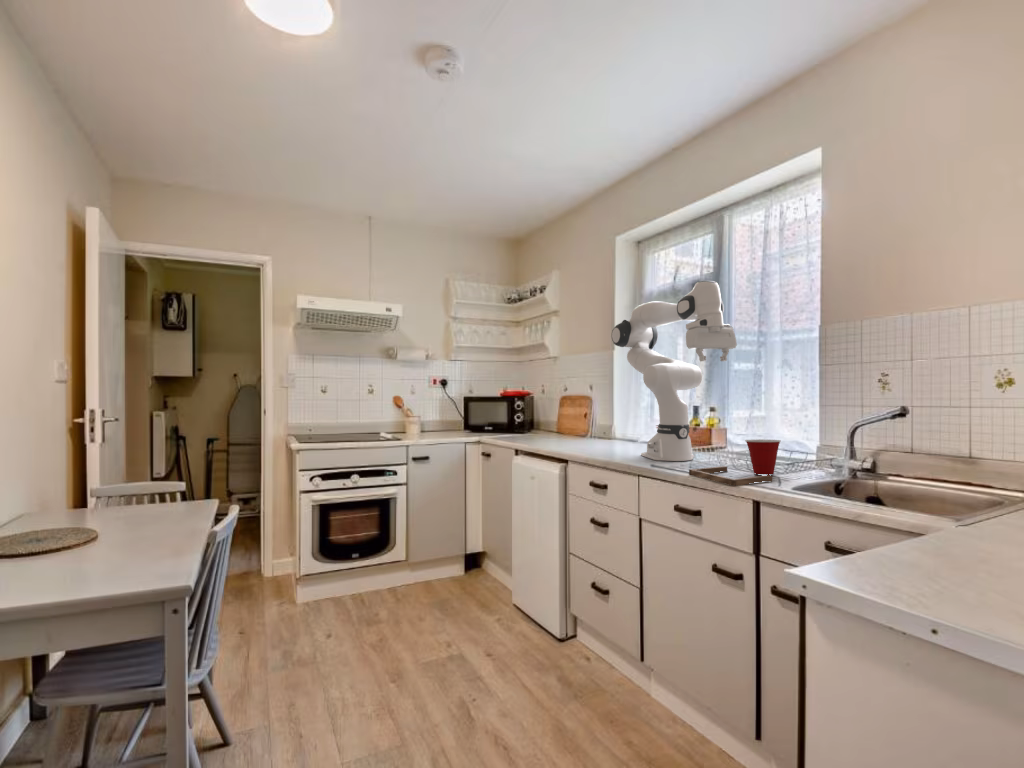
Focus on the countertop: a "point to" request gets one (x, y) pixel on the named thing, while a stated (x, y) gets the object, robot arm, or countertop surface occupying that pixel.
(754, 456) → the plastic cup
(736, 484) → the tray
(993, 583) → the countertop surface
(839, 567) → the countertop surface
